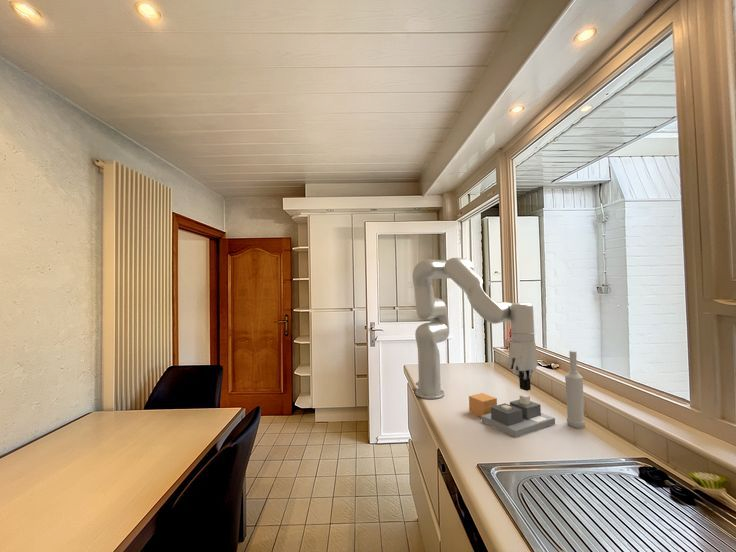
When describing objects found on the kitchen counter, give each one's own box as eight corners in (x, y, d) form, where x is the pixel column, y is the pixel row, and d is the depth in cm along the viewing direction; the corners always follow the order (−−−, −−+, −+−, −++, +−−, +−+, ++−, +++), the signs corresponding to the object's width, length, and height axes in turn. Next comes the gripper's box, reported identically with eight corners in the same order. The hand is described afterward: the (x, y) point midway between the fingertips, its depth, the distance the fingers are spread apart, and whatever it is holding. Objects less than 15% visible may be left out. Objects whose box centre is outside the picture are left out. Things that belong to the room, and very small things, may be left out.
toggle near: (501, 417, 112) (501, 406, 112) (506, 416, 113) (505, 404, 113) (507, 420, 110) (506, 408, 110) (512, 418, 111) (511, 407, 111)
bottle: (585, 429, 107) (582, 353, 108) (566, 426, 110) (563, 352, 111) (584, 423, 112) (581, 350, 112) (566, 420, 115) (564, 349, 115)
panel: (481, 421, 116) (481, 404, 116) (519, 410, 125) (519, 394, 125) (515, 437, 103) (514, 418, 103) (555, 423, 112) (554, 406, 112)
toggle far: (519, 406, 116) (519, 395, 116) (524, 405, 117) (523, 394, 118) (525, 408, 114) (525, 397, 114) (530, 407, 115) (529, 396, 115)
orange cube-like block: (469, 412, 124) (468, 396, 124) (482, 408, 127) (482, 393, 128) (483, 418, 118) (483, 401, 118) (497, 414, 121) (496, 398, 121)
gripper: (527, 334, 123) (529, 383, 123) (499, 338, 116) (501, 390, 116) (546, 336, 117) (548, 388, 116) (517, 341, 110) (520, 396, 109)
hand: (525, 389), depth 116 cm, fingers closed
